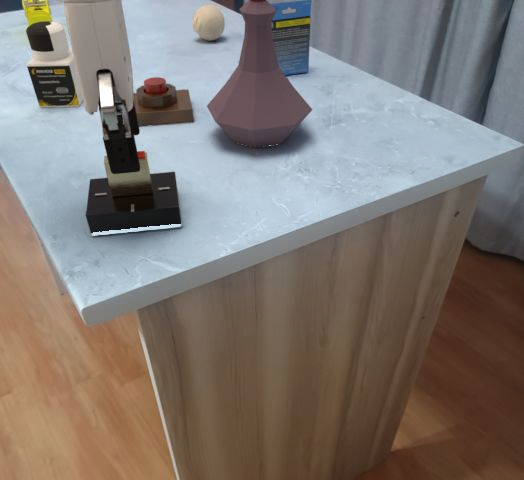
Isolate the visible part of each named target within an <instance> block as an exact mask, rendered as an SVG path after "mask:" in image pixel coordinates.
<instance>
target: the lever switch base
mask: <svg viewBox="0 0 524 480" xmlns="http://www.w3.org/2000/svg"><path fill="white" fill-rule="evenodd" d="M150 174H151V180H152V185H153V193H151V194H141V195H130V196H119V197H112V194H111V190H110V186H109V182H108V178H107V177H99V178H89V185H88V193H87V194H88V195H87V202H86V211H85V219H86V221H87V222H86V223H87V225H88V229H89V232H90V234H91V233H93V232H99V231H100V232H102V231H109V230H121V229H130V228H138V227H147V226H148V227H149V226H160V225H169V224H170V225H171V224H181V223H182V215H181V206H180V199H179V191H178V190H179V189H178V183H177V176H176V175H177V174H176V171H169V172H168V171H166V172H155V173H150ZM179 206H180V207H179Z"/></svg>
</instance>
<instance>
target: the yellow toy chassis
mask: <svg viewBox="0 0 524 480" xmlns="http://www.w3.org/2000/svg"><path fill="white" fill-rule="evenodd" d="M21 6H22V9H23V10H24V16H25V18H26V20H27V25H28V27H29V26H30V25H31V24H34V23H37V22H43V21H52V22H54V21H53V18H52V10H51V6H50V3H49V0H21Z"/></svg>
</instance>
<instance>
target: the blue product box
mask: <svg viewBox="0 0 524 480" xmlns="http://www.w3.org/2000/svg"><path fill="white" fill-rule="evenodd" d="M312 2H313V1H312V0H294V1H285V2H283V1H282V2H275V3H270V4H271V5H272V6H273V7H274V8H275V9H276V13H275V15H274V17H273V20H272V22H271V27H272V38H273V43H274V47H275V51H276V55H277V60H278V64H279V67H280V69H281V70H282V71H283V73H284V74H285V76H289V75H295V74H296V75H297V74H305V73H306V74H307V73H309V68H310V45H311V44H310V41H311V19H312V18H311V17H312V16H311V11H312ZM289 8H290V9H291V10H295V12H287V13H286V12H285V13H283V11H286V10H288V9H289Z"/></svg>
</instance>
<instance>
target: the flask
mask: <svg viewBox="0 0 524 480" xmlns="http://www.w3.org/2000/svg"><path fill="white" fill-rule="evenodd" d="M271 4H272V3H270V2H269V1H268V0H248V1H247V2H245V4H243V5H242V6H241V7H240V8H239V12H240V14H241V16H242V19H243V22H244V35H243V41H242V45H241V46H242V47H241V50H240V56H239V60H238V65H237V67H236V68H235V69H234V70H233V72H232V74H231V75H230V77H229V78H228V80H227V81H226V82H225V84H224V85H223V86H222V87H221V88H220V90H219V91H218V92H217V93H216V94H215V95H214V96H213V98H212V99H211V100H210V101H209V102H208V103H207V105H206V107H207V109H208V111H209V113H210V115H211V116H212V118H213V121H214V122H215V123H216V124H217V125H218V126H219V128H221V129H222V131H223V132H224V133H225V134H226V135H227V136H228V137H229V138H230V139H231V140H232V141H233V142H234V143H235V144H236V143H239V144H238V145H240V144H243V145H242V146H244V145H247V146H246V147H249V146H251V147H250V148H253V147H255V148H254V149H257V148H256V147H262V148H264V147H263V146H269V145H276V144H279V145H281V144H282V143H283V142H285V140H286V139H288V138H289V137H290V136H291V134H293V132H294V131H295V130H296V129H297V127H299V126H300V125H301V123H302V122H303V121H304V120H305V119H306V118H307V117H308V115H310V113H311V112H312V111H313V108H312V107H311V106H310V105H309V103H308V102H307V101H306V100H305V98H304V97H303V96H302V94H300V93H299V92H298V90H297V89H296V88H295V87H294V85H293V84H292V83H291V82H290V80H289V78H288V77H287V75H285V74H284V73H283V71H282V70H281V69H280V67H279V64H278V60H277V55H276V51H275V47H274V43H273V38H272V27H271V22H272V20H273V17H274V15H275V13H276V9H275V8H274V7H273V6H272V5H271ZM288 136H289V137H288ZM282 141H283V142H282ZM281 142H282V143H281ZM276 146H277V145H276ZM269 147H270V146H269Z"/></svg>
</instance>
